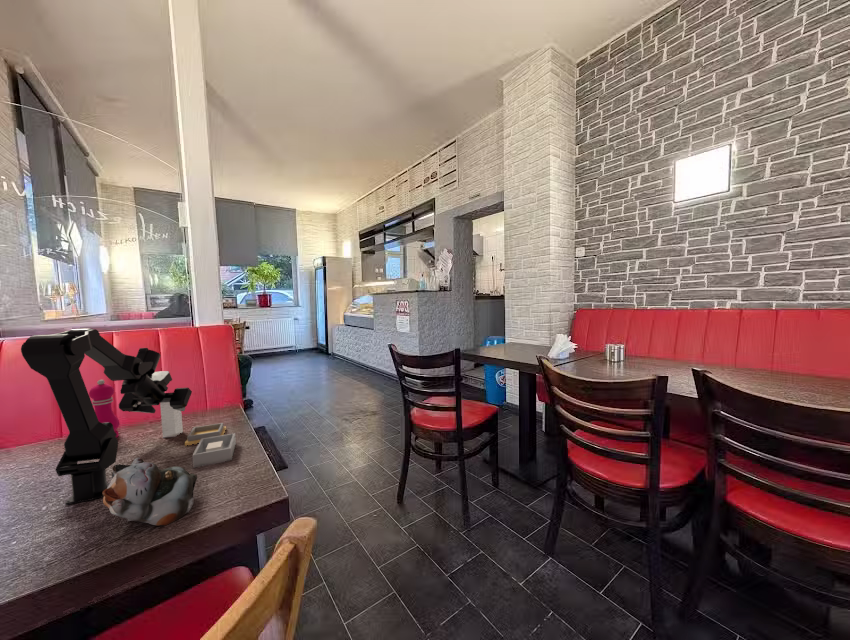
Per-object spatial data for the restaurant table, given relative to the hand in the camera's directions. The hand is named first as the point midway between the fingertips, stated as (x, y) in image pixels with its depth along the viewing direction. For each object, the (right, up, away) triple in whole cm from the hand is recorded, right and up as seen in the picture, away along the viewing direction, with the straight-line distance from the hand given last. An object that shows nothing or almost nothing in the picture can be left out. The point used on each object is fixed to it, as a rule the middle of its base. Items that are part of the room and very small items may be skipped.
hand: (169, 410), depth 113 cm
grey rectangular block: (0, -8, +1) cm, 9 cm away
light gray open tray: (+25, -9, -15) cm, 30 cm away
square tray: (+13, -8, -1) cm, 16 cm away
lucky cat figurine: (+29, -11, -42) cm, 52 cm away
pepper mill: (-21, -9, 0) cm, 23 cm away
